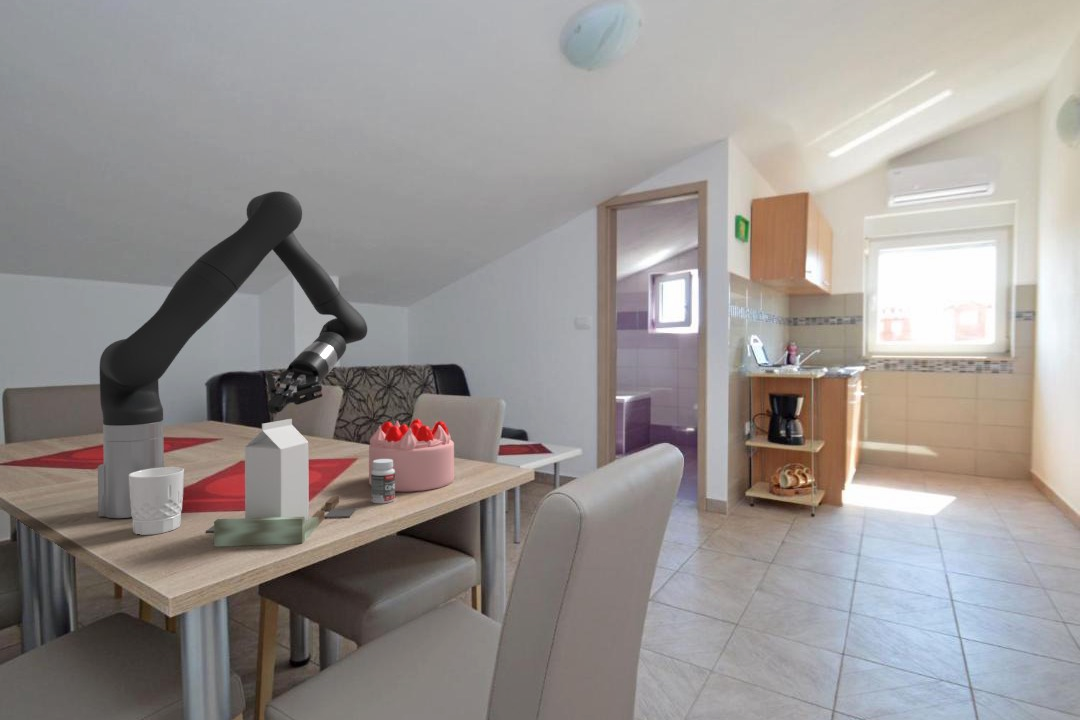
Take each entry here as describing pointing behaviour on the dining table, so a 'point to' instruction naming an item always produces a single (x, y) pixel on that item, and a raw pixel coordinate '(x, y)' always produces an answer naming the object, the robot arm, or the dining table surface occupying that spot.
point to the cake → (415, 454)
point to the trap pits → (331, 514)
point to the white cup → (156, 499)
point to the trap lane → (268, 529)
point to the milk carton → (277, 473)
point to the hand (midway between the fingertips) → (271, 410)
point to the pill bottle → (383, 481)
